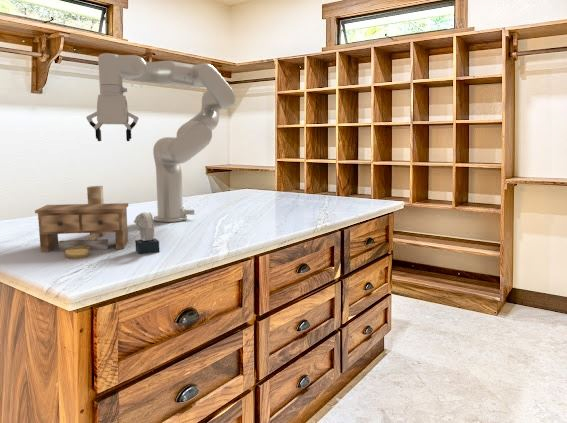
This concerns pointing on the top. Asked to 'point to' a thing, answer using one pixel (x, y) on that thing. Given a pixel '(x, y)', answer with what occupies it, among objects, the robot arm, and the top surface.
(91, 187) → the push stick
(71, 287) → the top surface
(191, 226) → the top surface
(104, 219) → the cabinet
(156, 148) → the robot arm
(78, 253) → the brass token
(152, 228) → the watch
